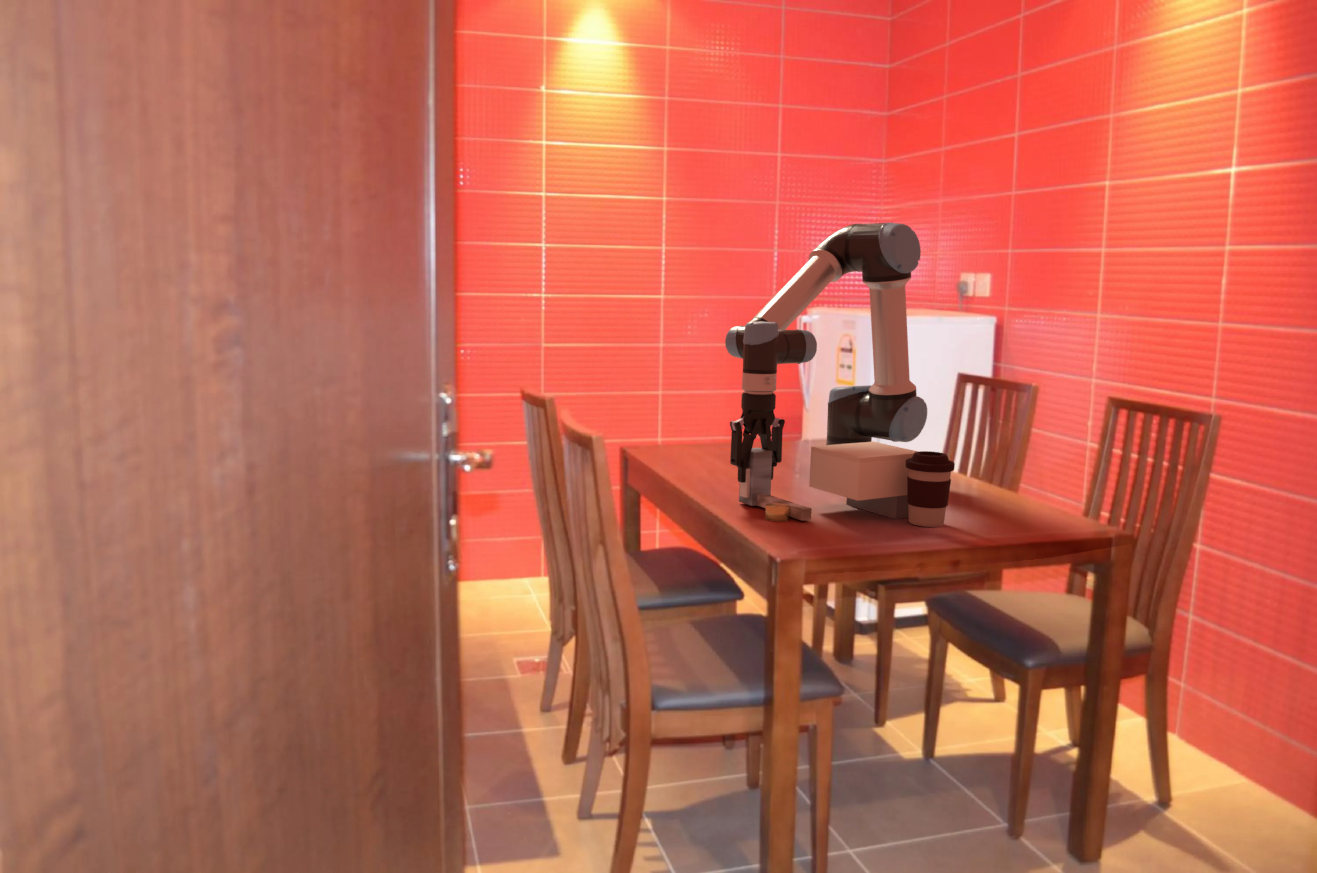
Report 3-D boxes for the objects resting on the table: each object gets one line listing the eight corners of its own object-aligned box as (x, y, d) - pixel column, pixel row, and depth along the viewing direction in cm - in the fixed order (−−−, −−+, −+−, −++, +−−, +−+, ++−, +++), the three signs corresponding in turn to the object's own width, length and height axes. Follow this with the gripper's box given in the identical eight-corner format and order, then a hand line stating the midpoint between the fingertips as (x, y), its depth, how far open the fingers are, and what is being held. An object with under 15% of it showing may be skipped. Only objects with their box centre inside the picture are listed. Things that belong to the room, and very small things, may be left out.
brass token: (760, 518, 224) (760, 504, 223) (777, 515, 227) (778, 502, 226) (776, 523, 220) (776, 509, 219) (793, 520, 223) (794, 506, 222)
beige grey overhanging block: (808, 508, 234) (811, 446, 232) (869, 501, 243) (873, 441, 241) (856, 524, 220) (859, 458, 218) (919, 515, 230) (923, 452, 227)
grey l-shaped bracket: (738, 501, 237) (740, 448, 235) (756, 499, 240) (758, 447, 238) (797, 521, 219) (799, 464, 218) (815, 518, 222) (818, 462, 220)
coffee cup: (917, 530, 216) (921, 458, 214) (893, 519, 226) (897, 450, 224) (959, 528, 219) (964, 457, 217) (934, 517, 229) (939, 449, 226)
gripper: (734, 395, 225) (731, 502, 228) (801, 392, 234) (797, 495, 237) (715, 391, 231) (711, 495, 235) (781, 388, 240) (777, 488, 244)
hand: (754, 495), depth 236 cm, fingers closed on grey l-shaped bracket, 5 cm apart
